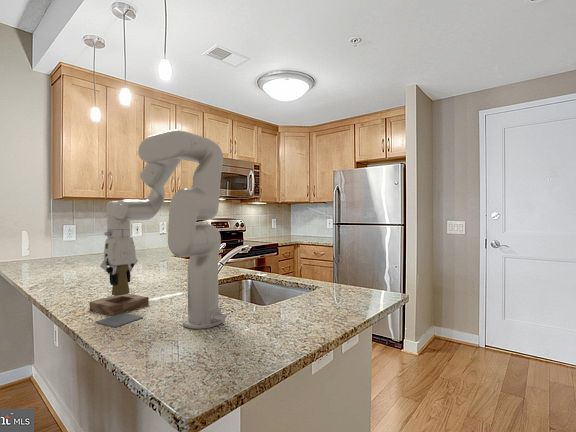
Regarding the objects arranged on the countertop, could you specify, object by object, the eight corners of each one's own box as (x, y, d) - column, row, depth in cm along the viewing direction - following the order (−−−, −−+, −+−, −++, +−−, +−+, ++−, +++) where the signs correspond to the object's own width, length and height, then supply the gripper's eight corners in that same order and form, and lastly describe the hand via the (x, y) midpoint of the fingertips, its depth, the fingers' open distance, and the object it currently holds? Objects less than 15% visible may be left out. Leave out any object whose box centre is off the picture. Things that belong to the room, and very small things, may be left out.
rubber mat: (143, 318, 107) (143, 316, 107) (115, 327, 99) (115, 326, 99) (123, 313, 112) (123, 312, 112) (95, 322, 103) (95, 321, 103)
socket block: (148, 305, 122) (148, 297, 122) (113, 315, 110) (113, 307, 110) (124, 300, 129) (124, 293, 129) (89, 310, 116) (89, 302, 116)
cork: (113, 292, 121) (112, 263, 121) (131, 290, 123) (130, 262, 123) (109, 296, 115) (108, 265, 115) (128, 294, 117) (127, 264, 117)
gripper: (103, 236, 110) (104, 289, 110) (145, 232, 125) (146, 279, 125) (89, 235, 113) (91, 287, 113) (132, 232, 128) (134, 278, 128)
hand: (120, 282), depth 119 cm, fingers closed on cork, 4 cm apart
